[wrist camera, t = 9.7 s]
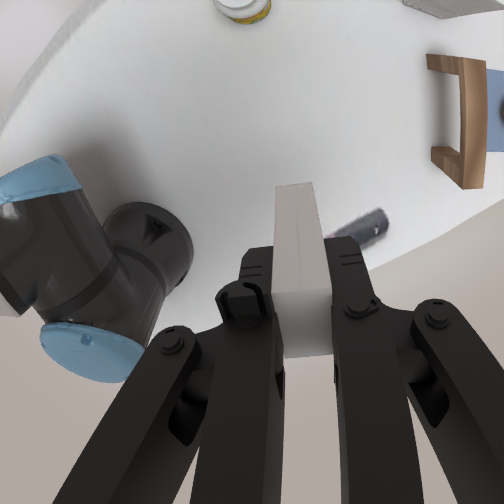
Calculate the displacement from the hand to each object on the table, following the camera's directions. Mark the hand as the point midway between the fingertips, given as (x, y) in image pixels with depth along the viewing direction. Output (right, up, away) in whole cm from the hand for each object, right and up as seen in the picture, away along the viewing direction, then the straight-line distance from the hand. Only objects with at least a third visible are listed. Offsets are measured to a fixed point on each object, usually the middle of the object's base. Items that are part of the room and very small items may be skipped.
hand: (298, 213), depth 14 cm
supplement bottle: (-2, +26, +14) cm, 30 cm away
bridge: (+22, +17, +19) cm, 33 cm away
